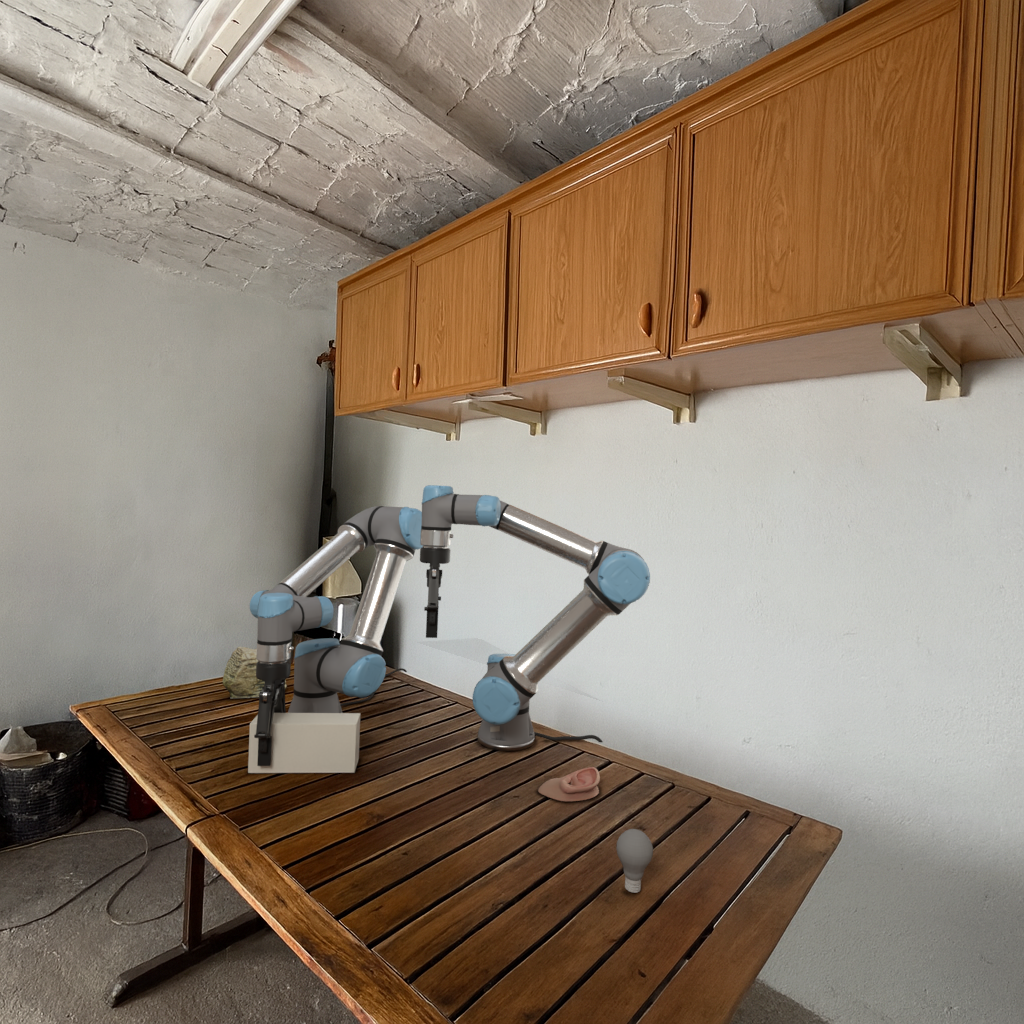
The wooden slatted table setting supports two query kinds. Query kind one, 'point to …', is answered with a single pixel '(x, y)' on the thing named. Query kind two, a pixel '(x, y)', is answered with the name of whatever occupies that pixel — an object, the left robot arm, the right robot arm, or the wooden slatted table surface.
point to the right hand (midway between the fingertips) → (431, 631)
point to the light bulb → (634, 857)
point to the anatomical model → (573, 786)
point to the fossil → (243, 674)
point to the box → (309, 743)
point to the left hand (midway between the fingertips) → (270, 756)
